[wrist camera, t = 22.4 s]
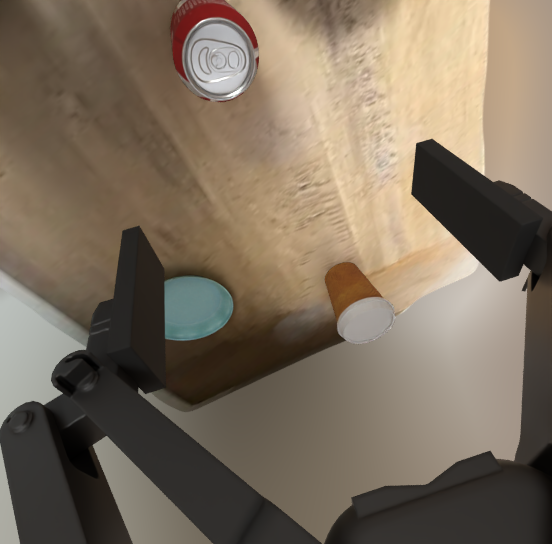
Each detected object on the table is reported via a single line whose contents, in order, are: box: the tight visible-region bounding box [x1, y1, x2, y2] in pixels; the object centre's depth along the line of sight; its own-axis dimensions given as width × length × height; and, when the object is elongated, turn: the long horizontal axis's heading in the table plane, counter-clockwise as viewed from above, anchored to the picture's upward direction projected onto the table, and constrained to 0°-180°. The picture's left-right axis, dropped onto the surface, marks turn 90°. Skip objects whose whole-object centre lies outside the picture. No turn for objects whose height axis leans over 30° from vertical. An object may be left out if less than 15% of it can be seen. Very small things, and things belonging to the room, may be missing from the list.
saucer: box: [164, 275, 233, 340], centre depth 58 cm, size 15×15×3 cm
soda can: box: [170, 0, 259, 102], centre depth 31 cm, size 7×7×12 cm
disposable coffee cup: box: [325, 262, 395, 344], centre depth 59 cm, size 10×10×12 cm
